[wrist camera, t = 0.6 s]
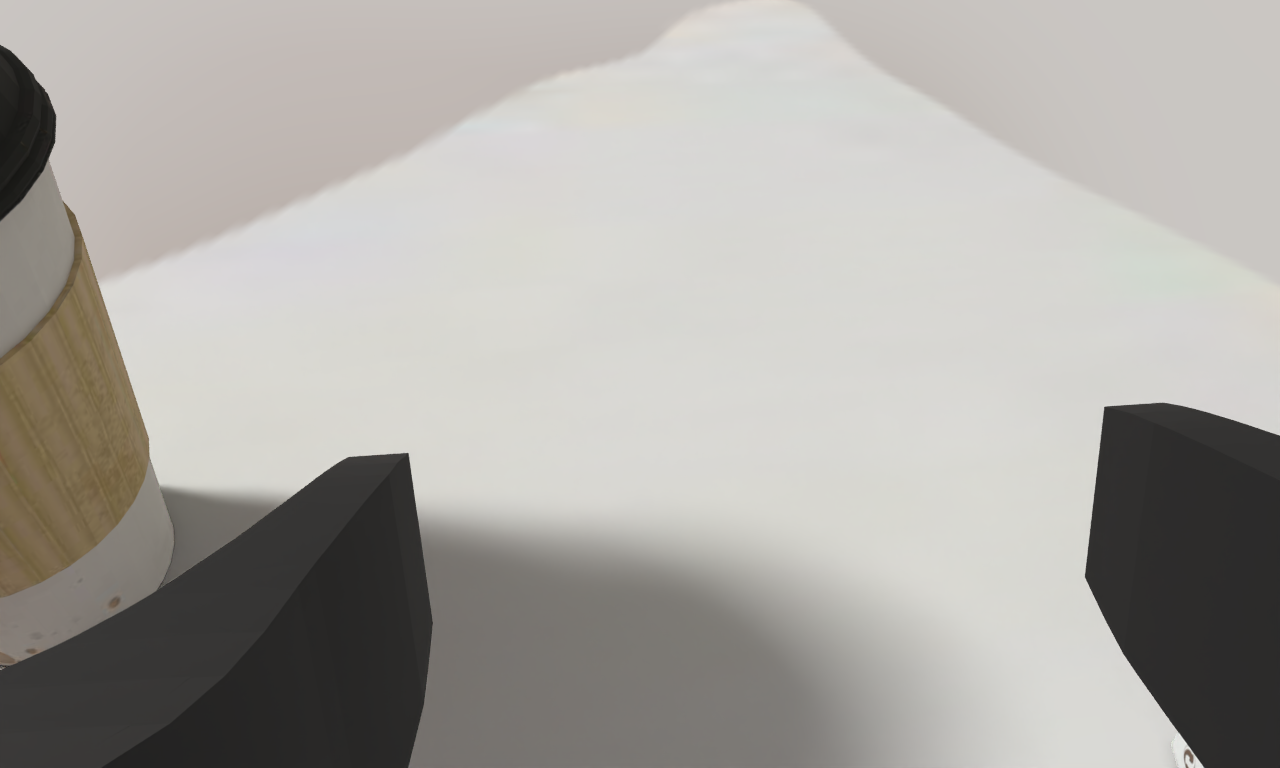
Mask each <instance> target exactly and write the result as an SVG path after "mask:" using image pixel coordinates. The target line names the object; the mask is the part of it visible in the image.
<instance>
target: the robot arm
mask: <svg viewBox="0 0 1280 768" xmlns="http://www.w3.org/2000/svg"><path fill="white" fill-rule="evenodd" d="M1085 578H1086V580H1087V582H1088V584H1089V587H1090V589H1091V591H1092V593H1093V595H1094V597H1095V599H1096V601H1097V603H1098V605H1099V607H1100V610H1101V612H1102V614H1103V616H1104V618H1105V620H1106V622H1107V624H1108V626H1109V628H1110V629H1111V631H1112V633H1113V635H1114V637H1115V639H1116V641H1117V643H1118V645H1119V646H1120V648H1121V650H1122V652H1123V654H1124V655H1125V657H1126V658H1127V660H1128V661H1129V663H1130V664H1131V666H1132V667H1133V669H1134V670H1135V672H1136V673H1137V675H1138V676H1139V677H1140V679H1141V680H1142V682H1143V683H1144V684H1145V686H1146V687H1147V689H1148V690H1149V692H1150V693H1151V694H1152V696H1153V697H1154V699H1155V700H1156V701H1157V703H1158V704H1159V706H1160V707H1161V709H1162V710H1163V711H1164V713H1165V714H1166V716H1167V717H1168V718H1169V720H1170V721H1171V723H1172V724H1173V725H1174V727H1175V728H1176V729H1177V731H1178V732H1179V734H1180V735H1181V736H1182V738H1183V739H1184V741H1185V742H1186V743H1187V745H1188V746H1189V747H1190V749H1191V750H1192V752H1193V753H1194V754H1195V756H1196V757H1197V759H1198V760H1199V761H1200V763H1201V764H1202V765H1203V767H1204V768H1280V436H1279V435H1276V434H1273V433H1270V432H1267V431H1264V430H1261V429H1258V428H1255V427H1252V426H1249V425H1246V424H1243V423H1240V422H1237V421H1234V420H1231V419H1227V418H1224V417H1221V416H1217V415H1214V414H1211V413H1207V412H1204V411H1200V410H1196V409H1192V408H1188V407H1184V406H1179V405H1173V404H1167V403H1152V404H1137V405H1122V406H1107V407H1104V416H1103V424H1102V433H1101V442H1100V451H1099V459H1098V468H1097V477H1096V485H1095V494H1094V503H1093V511H1092V520H1091V529H1090V537H1089V546H1088V555H1087V563H1086V572H1085ZM432 624H433V622H432V615H431V608H430V601H429V594H428V587H427V580H426V573H425V566H424V559H423V552H422V545H421V538H420V531H419V524H418V517H417V510H416V503H415V496H414V489H413V482H412V475H411V468H410V461H409V454H408V453H402V454H387V455H372V456H357V457H348V458H346V459H344V460H343V461H341V462H339V463H337V464H336V465H334V466H333V467H331V468H330V469H328V470H327V471H326V472H324V473H323V474H321V475H320V476H319V477H317V478H316V479H315V480H313V481H312V482H311V483H309V484H308V485H307V486H305V487H304V488H303V489H301V490H300V491H299V492H297V493H296V494H295V495H293V496H292V497H291V498H290V499H288V500H287V501H286V502H284V503H283V504H282V505H280V506H279V507H277V508H276V509H275V510H273V511H272V512H271V513H269V514H268V515H267V516H265V517H264V518H263V519H261V520H260V521H259V522H257V523H256V524H255V525H253V526H252V527H251V528H249V529H248V530H247V531H245V532H244V533H243V534H241V535H240V536H238V537H237V538H236V539H234V540H233V541H231V542H230V543H228V544H227V545H225V546H224V547H222V548H221V549H219V550H218V551H216V552H215V553H213V554H212V555H210V556H209V557H207V558H206V559H204V560H203V561H201V562H200V563H198V564H197V565H195V566H194V567H192V568H191V569H189V570H188V571H186V572H185V573H183V574H182V575H181V576H179V577H178V578H176V579H175V580H173V581H172V582H170V583H169V584H167V585H165V586H164V587H162V588H160V589H159V590H157V591H156V592H154V593H152V594H151V595H149V596H147V597H146V598H144V599H142V600H140V601H139V602H137V603H135V604H133V605H132V606H130V607H128V608H127V609H125V610H123V611H121V612H119V613H117V614H116V615H114V616H112V617H110V618H108V619H106V620H104V621H102V622H101V623H99V624H97V625H95V626H93V627H91V628H89V629H88V630H86V631H84V632H82V633H80V634H78V635H76V636H74V637H72V638H70V639H68V640H66V641H64V642H62V643H60V644H58V645H56V646H54V647H51V648H49V649H47V650H45V651H42V652H40V653H38V654H36V655H33V656H31V657H29V658H27V659H24V660H22V661H20V662H18V663H16V664H13V665H11V666H9V667H7V668H4V669H2V670H0V768H408V765H409V761H410V757H411V753H412V749H413V746H414V742H415V738H416V734H417V730H418V726H419V722H420V717H421V713H422V709H423V705H424V698H425V689H426V681H427V673H428V664H429V654H430V644H431V634H432Z"/></svg>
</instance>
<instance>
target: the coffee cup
mask: <svg viewBox="0 0 1280 768" xmlns="http://www.w3.org/2000/svg"><path fill="white" fill-rule="evenodd" d="M55 132H56V114H55V112H54V109H53V106H52V104H51V101H50V99H49V96H48V94H47V93H46V92H45V89H44V88H43V87H42V86H41V85H40V84H39V83H38V82H37V81H36V80H35V77H34V75H33V74H32V73H31V71H30V70H29V69H28V68H27V67H26V66H25V65H24V64H23V63H22V62H21V61H20V60H19V59H18V58H17V57H16V56H15V55H14V54H13V53H12V52H11V51H10V50H8V49H6V48H4V47H3V46H1V45H0V665H8V666H11V665H13V664H16V663H18V662H20V661H22V660H24V659H27V658H29V657H31V656H33V655H36V654H38V653H40V652H42V651H45V650H47V649H49V648H51V647H54V646H56V645H58V644H60V643H62V642H64V641H66V640H68V639H70V638H72V637H74V636H76V635H78V634H80V633H82V632H84V631H86V630H88V629H89V628H91V627H93V626H95V625H97V624H99V623H101V622H102V621H104V620H106V619H108V618H110V617H112V616H114V615H116V614H117V613H119V612H121V611H123V610H125V609H127V608H128V607H130V606H132V605H133V604H135V603H137V602H139V601H140V600H142V599H144V598H146V597H147V596H149V595H151V594H152V593H154V592H156V590H157V589H158V587H159V586H160V584H161V583H162V581H163V580H164V577H165V575H166V572H167V570H168V568H169V565H170V563H171V559H172V554H173V549H174V529H173V525H172V522H171V519H170V516H169V513H168V510H167V507H166V504H165V501H164V498H163V495H162V492H161V490H160V487H159V484H158V481H157V478H156V475H155V472H154V469H153V466H152V463H151V460H150V457H149V438H148V435H147V432H146V429H145V426H144V423H143V419H142V416H141V413H140V410H139V407H138V404H137V401H136V398H135V395H134V392H133V389H132V386H131V383H130V380H129V377H128V374H127V371H126V368H125V365H124V362H123V358H122V355H121V352H120V349H119V346H118V343H117V340H116V337H115V334H114V331H113V328H112V325H111V322H110V319H109V316H108V313H107V310H106V307H105V304H104V301H103V297H102V294H101V291H100V288H99V285H98V282H97V279H96V276H95V273H94V270H93V267H92V264H91V261H90V258H89V255H88V252H87V249H86V246H85V243H84V240H83V237H82V234H81V231H80V228H79V225H78V223H77V220H76V217H75V215H74V213H73V212H72V211H71V210H70V209H69V208H68V206H67V205H66V204H65V203H64V202H63V200H62V198H61V195H60V192H59V189H58V186H57V183H56V180H55V177H54V174H53V171H52V168H51V165H50V162H49V156H50V153H51V151H52V148H53V146H54V144H55Z"/></svg>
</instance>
